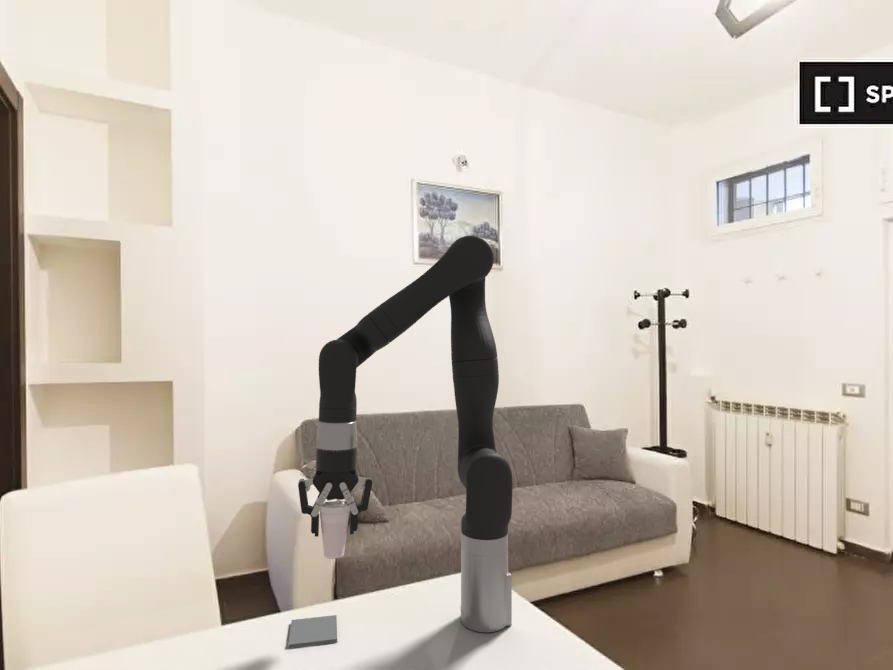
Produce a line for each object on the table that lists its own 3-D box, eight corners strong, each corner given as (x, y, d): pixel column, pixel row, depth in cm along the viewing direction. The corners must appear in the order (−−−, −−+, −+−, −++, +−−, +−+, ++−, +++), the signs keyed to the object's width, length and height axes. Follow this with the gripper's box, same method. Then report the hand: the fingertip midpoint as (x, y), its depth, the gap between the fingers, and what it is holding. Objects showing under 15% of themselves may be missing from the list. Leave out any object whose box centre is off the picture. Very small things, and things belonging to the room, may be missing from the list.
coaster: (336, 618, 101) (336, 614, 101) (337, 642, 93) (337, 638, 93) (291, 623, 99) (291, 620, 99) (288, 648, 91) (288, 644, 91)
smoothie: (343, 563, 93) (345, 485, 93) (310, 559, 94) (312, 483, 95) (356, 550, 99) (358, 477, 100) (325, 546, 100) (327, 475, 101)
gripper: (373, 440, 103) (370, 525, 102) (298, 441, 99) (295, 529, 99) (376, 447, 95) (374, 539, 95) (296, 449, 92) (293, 544, 92)
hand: (334, 533), depth 97 cm, fingers closed on smoothie, 6 cm apart
